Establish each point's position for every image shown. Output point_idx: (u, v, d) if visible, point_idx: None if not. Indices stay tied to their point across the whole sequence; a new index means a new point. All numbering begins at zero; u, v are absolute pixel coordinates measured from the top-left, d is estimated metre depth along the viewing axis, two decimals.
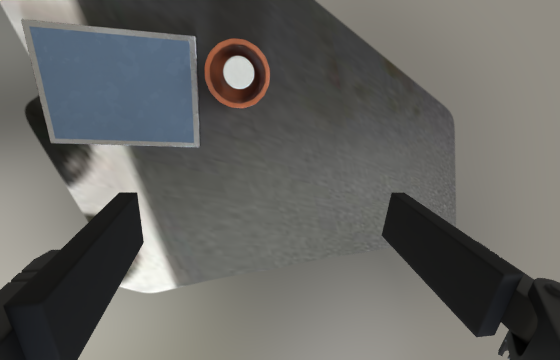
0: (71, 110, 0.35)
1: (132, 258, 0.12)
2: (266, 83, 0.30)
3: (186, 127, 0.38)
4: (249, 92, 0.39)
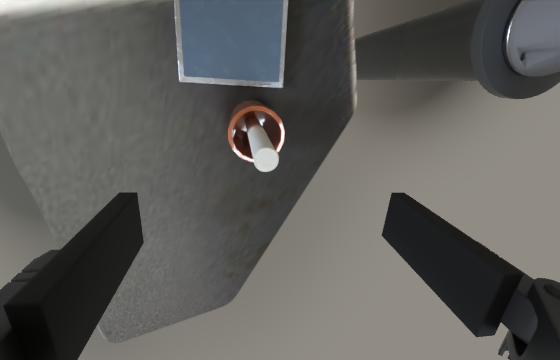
0: None
1: (132, 258, 0.12)
2: (250, 160, 0.34)
3: (200, 70, 0.37)
4: (238, 134, 0.42)
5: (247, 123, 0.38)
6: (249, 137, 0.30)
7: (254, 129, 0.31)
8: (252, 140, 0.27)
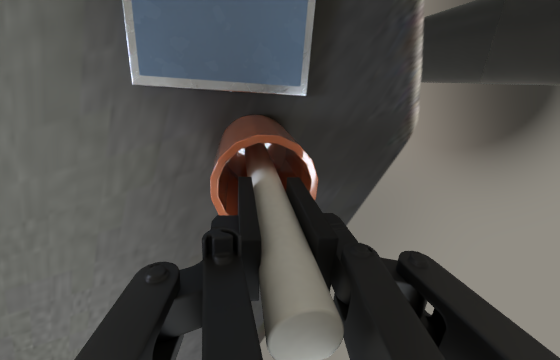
0: None
1: None
2: None
3: (167, 64, 0.22)
4: (233, 168, 0.26)
5: (247, 156, 0.22)
6: None
7: (261, 183, 0.15)
8: None
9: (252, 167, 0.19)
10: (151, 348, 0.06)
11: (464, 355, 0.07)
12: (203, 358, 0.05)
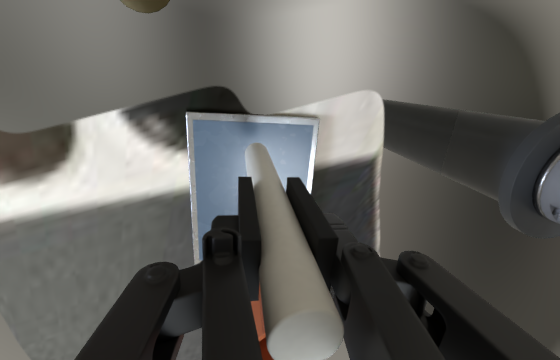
0: (229, 144, 0.30)
1: None
2: None
3: None
4: None
5: (247, 156, 0.22)
6: None
7: (261, 183, 0.15)
8: (259, 227, 0.11)
9: (252, 167, 0.19)
10: (151, 347, 0.06)
11: (464, 355, 0.07)
12: (203, 358, 0.05)
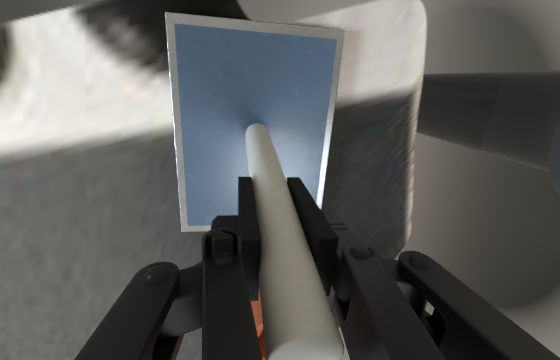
0: (224, 63, 0.23)
1: None
2: None
3: (209, 217, 0.27)
4: None
5: (248, 139, 0.21)
6: None
7: (263, 175, 0.15)
8: (260, 229, 0.11)
9: (253, 154, 0.18)
10: (151, 348, 0.06)
11: (464, 355, 0.07)
12: (203, 358, 0.05)
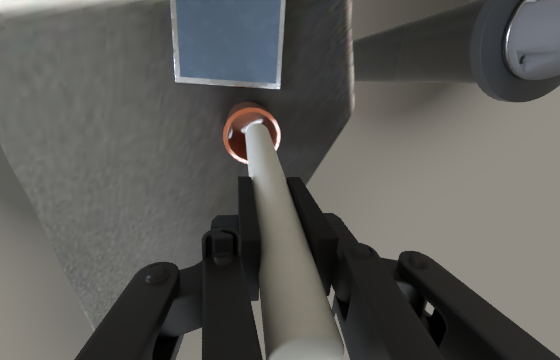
0: None
1: None
2: (246, 161, 0.33)
3: (196, 70, 0.37)
4: (235, 135, 0.41)
5: (248, 139, 0.21)
6: None
7: (263, 176, 0.15)
8: (260, 229, 0.11)
9: (253, 154, 0.18)
10: (151, 348, 0.06)
11: (464, 355, 0.07)
12: (203, 358, 0.05)
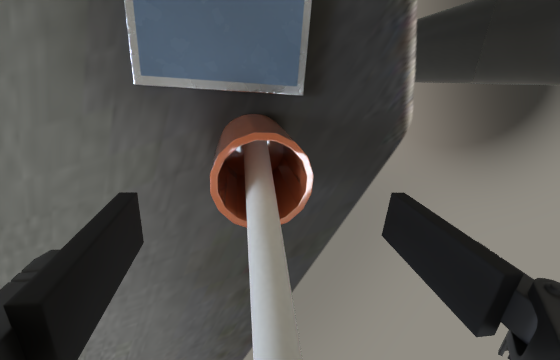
0: None
1: (132, 258, 0.12)
2: None
3: (168, 65, 0.22)
4: (232, 165, 0.27)
5: (245, 148, 0.23)
6: (248, 230, 0.17)
7: (257, 209, 0.17)
8: (253, 273, 0.14)
9: (249, 174, 0.20)
10: None
11: None
12: None
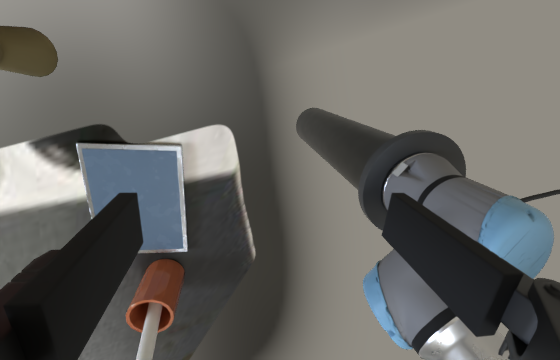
0: (112, 165, 0.41)
1: (132, 258, 0.12)
2: None
3: None
4: None
5: None
6: (140, 340, 0.40)
7: (145, 330, 0.41)
8: None
9: (149, 306, 0.43)
10: None
11: None
12: None
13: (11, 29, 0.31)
